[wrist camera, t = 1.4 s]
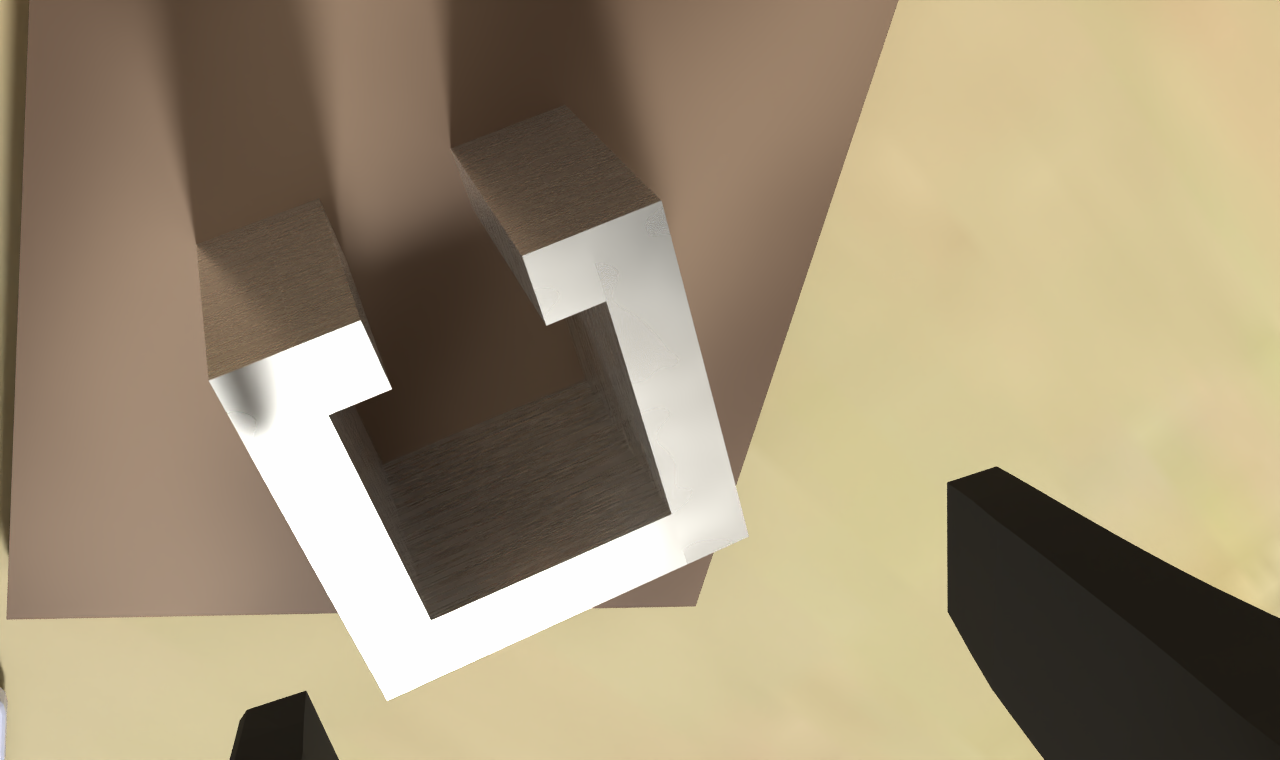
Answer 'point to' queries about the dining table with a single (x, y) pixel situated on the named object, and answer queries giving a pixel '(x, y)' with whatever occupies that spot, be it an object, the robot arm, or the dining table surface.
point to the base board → (371, 243)
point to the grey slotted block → (494, 449)
